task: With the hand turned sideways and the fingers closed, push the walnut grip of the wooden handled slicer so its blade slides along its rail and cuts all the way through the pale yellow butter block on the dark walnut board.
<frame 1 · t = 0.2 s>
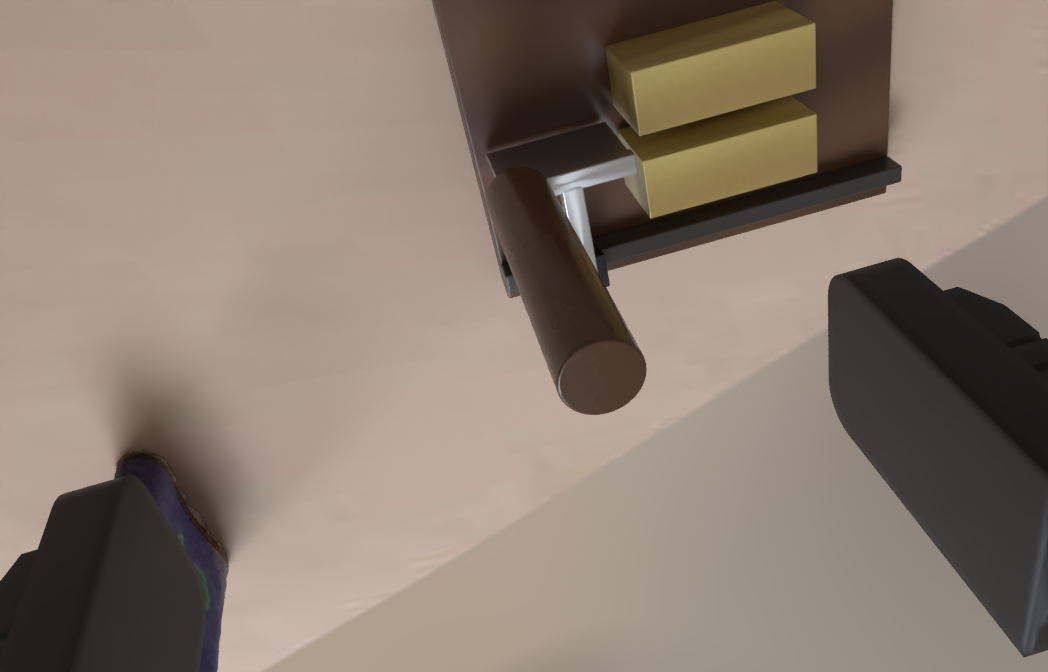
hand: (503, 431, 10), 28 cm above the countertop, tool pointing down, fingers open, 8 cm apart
wooden handled slicer: (598, 292, 31), point 10 cm above the countertop, slide at 0.0 cm
butter board: (673, 87, 38), on the countertop
flask: (173, 514, 45), on the countertop
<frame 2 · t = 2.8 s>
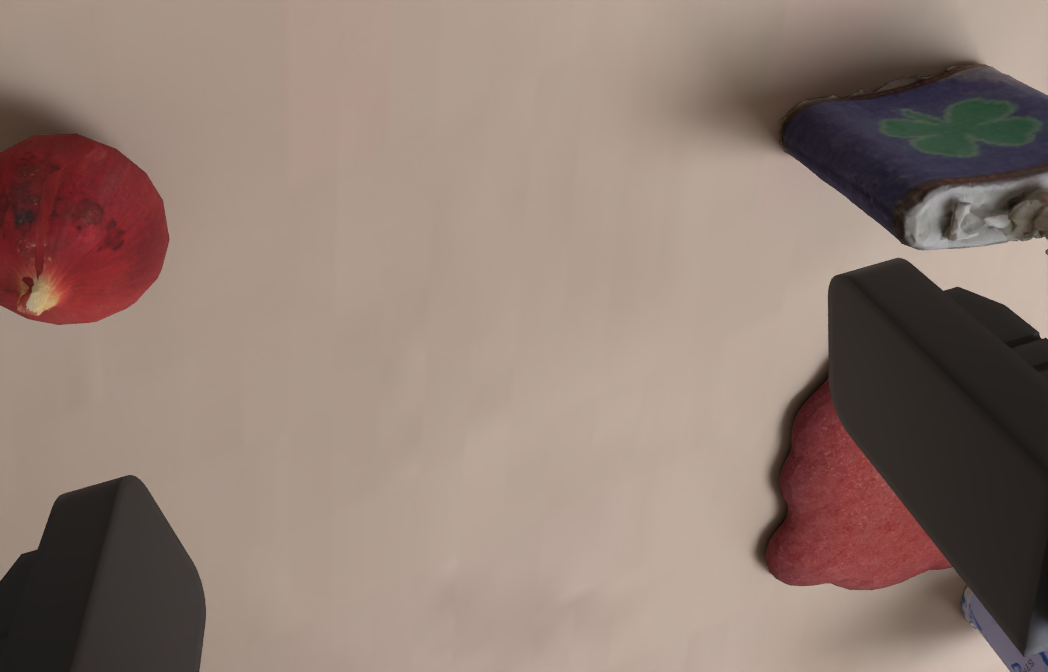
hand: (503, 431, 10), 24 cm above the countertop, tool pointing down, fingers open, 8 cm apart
onion: (93, 181, 31), on the countertop
aerosol can: (1018, 581, 56), on the countertop
patty: (893, 462, 48), on the countertop
flask: (882, 111, 36), on the countertop
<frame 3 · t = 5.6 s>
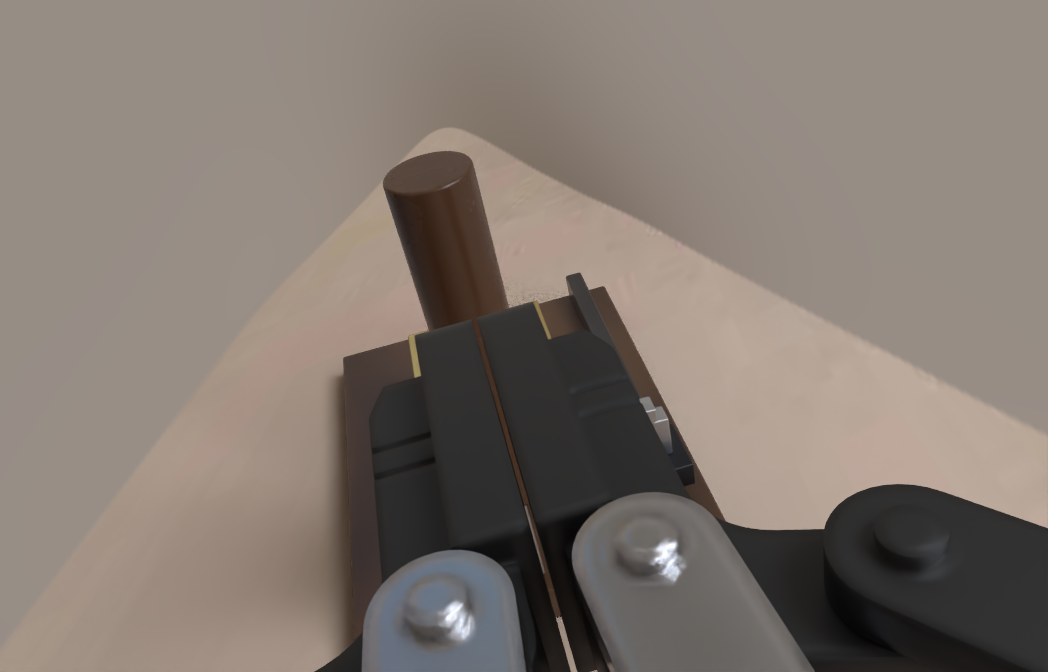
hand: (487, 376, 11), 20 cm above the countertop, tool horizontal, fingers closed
wooden handled slicer: (559, 348, 29), point 10 cm above the countertop, slide at 0.0 cm
butter board: (510, 455, 40), on the countertop
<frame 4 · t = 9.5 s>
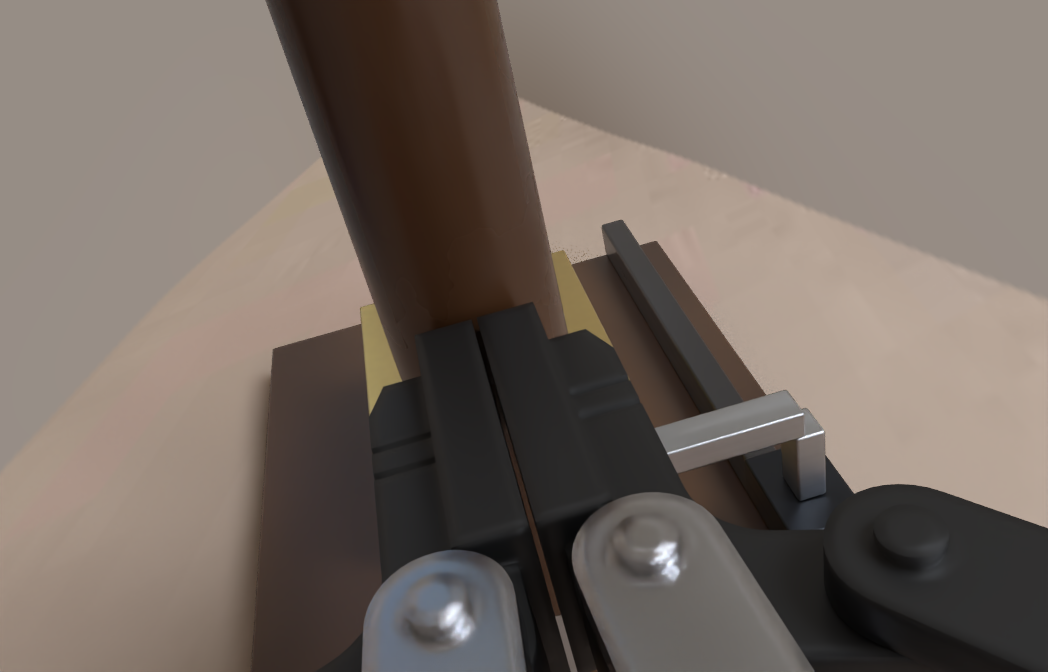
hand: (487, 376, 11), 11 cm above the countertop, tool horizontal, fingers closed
wooden handled slicer: (631, 289, 14), point 10 cm above the countertop, slide at 0.2 cm, touching gripper
butter board: (525, 498, 25), on the countertop
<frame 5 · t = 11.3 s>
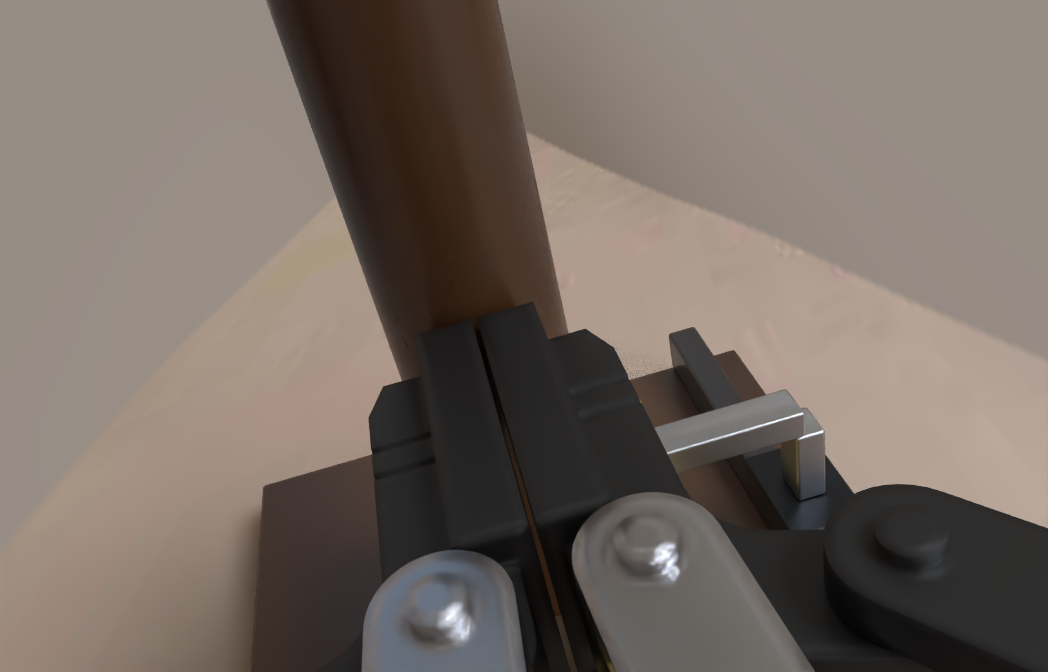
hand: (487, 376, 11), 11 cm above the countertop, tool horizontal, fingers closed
wooden handled slicer: (631, 289, 14), point 10 cm above the countertop, slide at 7.3 cm, touching gripper
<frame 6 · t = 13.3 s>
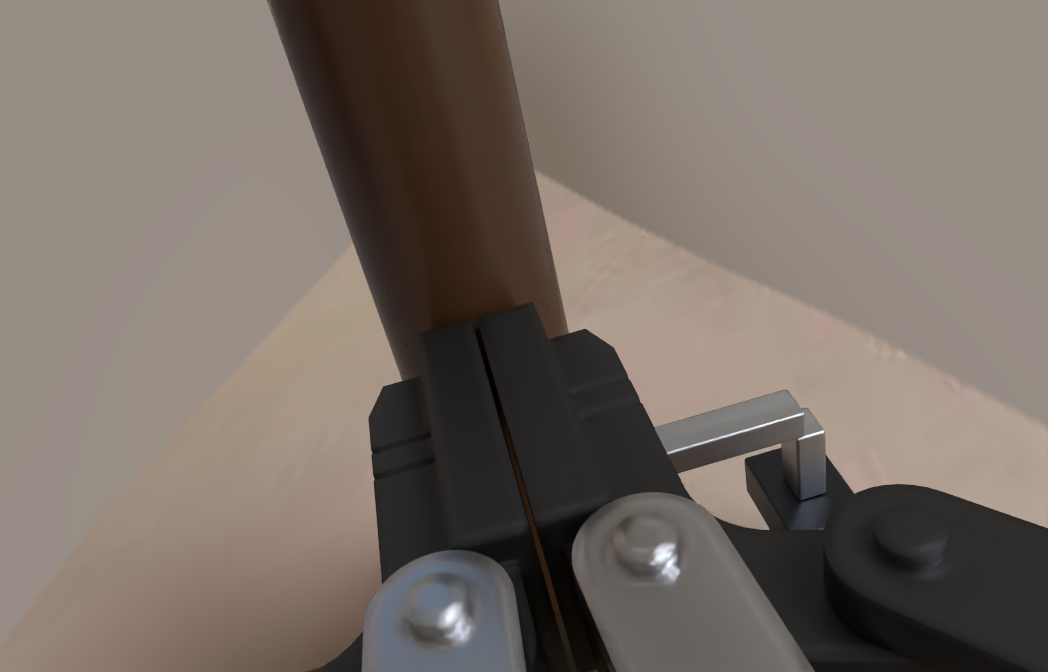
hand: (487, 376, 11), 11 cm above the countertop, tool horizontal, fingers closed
wooden handled slicer: (632, 289, 14), point 10 cm above the countertop, slide at 14.0 cm, touching gripper
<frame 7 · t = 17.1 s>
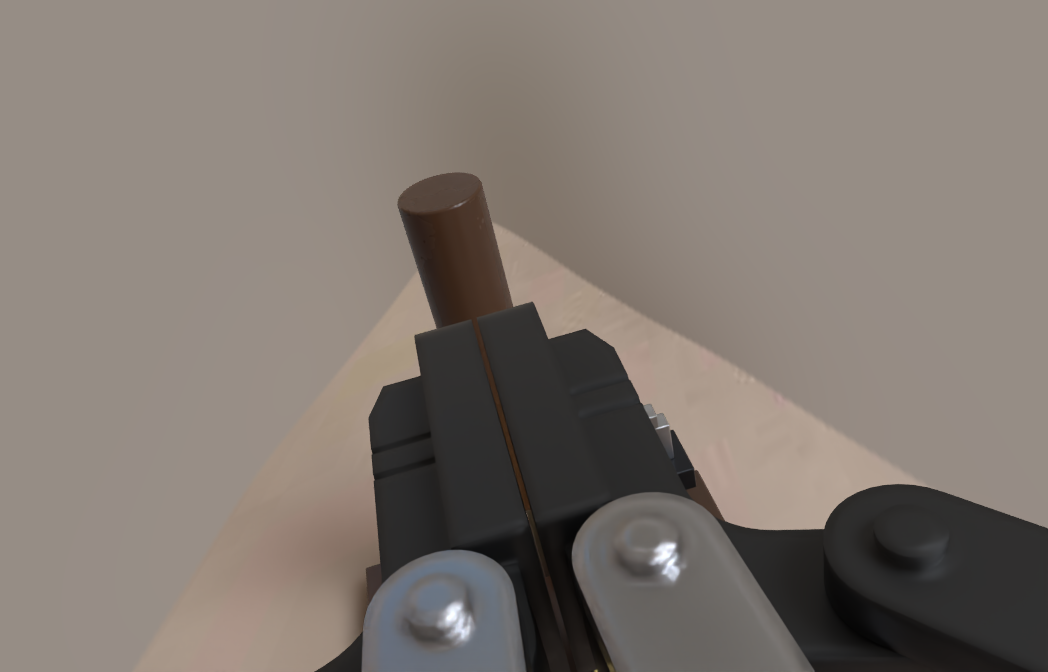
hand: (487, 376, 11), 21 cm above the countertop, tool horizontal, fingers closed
wooden handled slicer: (564, 357, 31), point 10 cm above the countertop, slide at 14.0 cm
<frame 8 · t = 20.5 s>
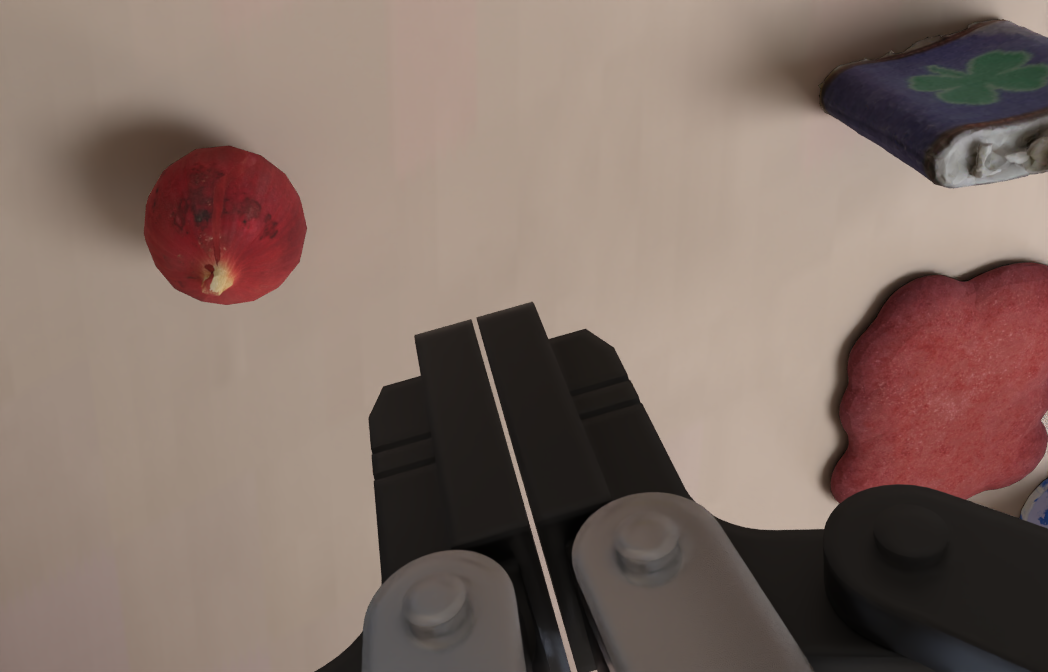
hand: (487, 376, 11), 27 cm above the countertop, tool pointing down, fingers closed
onion: (234, 185, 37), on the countertop
patty: (944, 391, 52), on the countertop
flask: (911, 68, 40), on the countertop
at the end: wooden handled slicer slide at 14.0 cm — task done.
